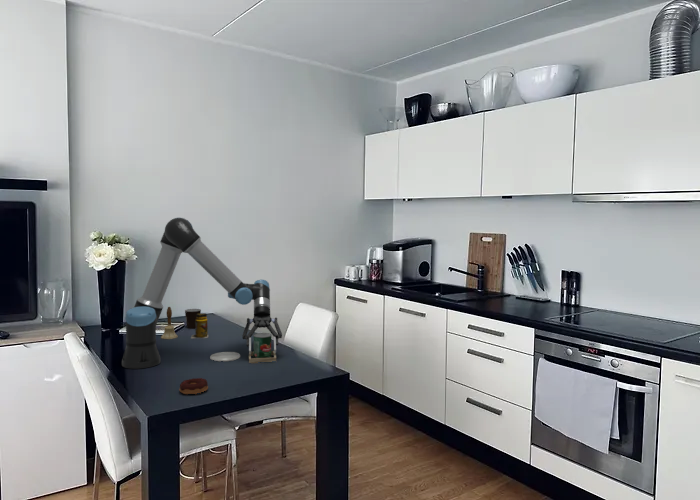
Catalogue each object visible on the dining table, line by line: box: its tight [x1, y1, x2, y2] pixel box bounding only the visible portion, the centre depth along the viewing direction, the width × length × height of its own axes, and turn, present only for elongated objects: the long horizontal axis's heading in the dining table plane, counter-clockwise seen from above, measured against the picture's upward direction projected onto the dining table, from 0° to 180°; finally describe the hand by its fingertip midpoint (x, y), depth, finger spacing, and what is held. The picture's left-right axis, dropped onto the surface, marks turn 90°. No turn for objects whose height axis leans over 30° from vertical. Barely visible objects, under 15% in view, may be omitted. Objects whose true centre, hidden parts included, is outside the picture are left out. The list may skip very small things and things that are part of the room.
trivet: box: [209, 351, 241, 362], centre depth 224 cm, size 13×13×1 cm
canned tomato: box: [252, 332, 273, 358], centre depth 221 cm, size 8×8×11 cm
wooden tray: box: [248, 350, 277, 364], centre depth 221 cm, size 12×12×2 cm
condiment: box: [190, 312, 209, 339], centre depth 261 cm, size 7×8×12 cm
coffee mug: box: [184, 308, 202, 330], centre depth 283 cm, size 12×9×10 cm
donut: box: [178, 377, 209, 395], centre depth 180 cm, size 10×10×4 cm
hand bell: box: [160, 306, 178, 340], centre depth 258 cm, size 8×8×16 cm
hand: (262, 351), depth 218 cm, fingers open, 10 cm apart
